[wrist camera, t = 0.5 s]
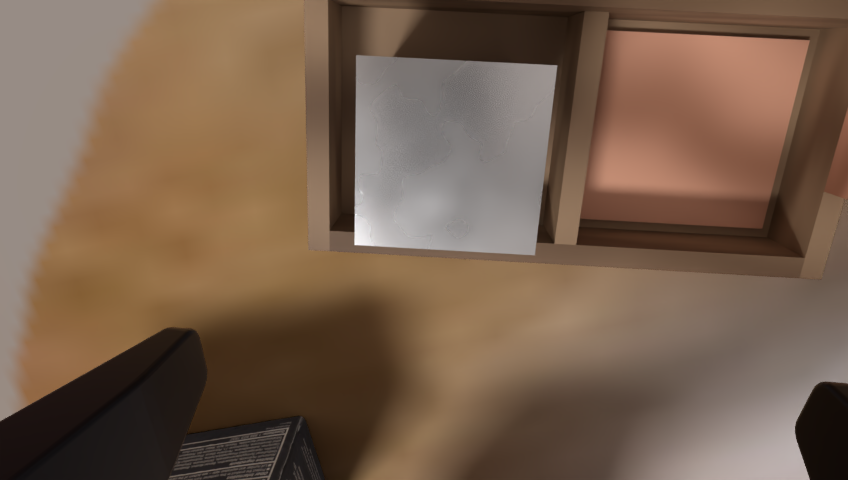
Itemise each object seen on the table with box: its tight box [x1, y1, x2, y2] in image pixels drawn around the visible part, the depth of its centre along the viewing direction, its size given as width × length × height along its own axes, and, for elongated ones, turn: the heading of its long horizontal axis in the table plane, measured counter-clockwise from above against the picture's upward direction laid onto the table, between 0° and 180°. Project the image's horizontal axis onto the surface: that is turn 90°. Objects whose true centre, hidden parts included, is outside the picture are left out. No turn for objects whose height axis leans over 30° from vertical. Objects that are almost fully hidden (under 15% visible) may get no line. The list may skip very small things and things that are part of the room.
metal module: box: [354, 55, 557, 255], centre depth 17 cm, size 4×4×9 cm
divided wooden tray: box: [304, 0, 848, 279], centre depth 20 cm, size 10×19×5 cm, turn 87°
